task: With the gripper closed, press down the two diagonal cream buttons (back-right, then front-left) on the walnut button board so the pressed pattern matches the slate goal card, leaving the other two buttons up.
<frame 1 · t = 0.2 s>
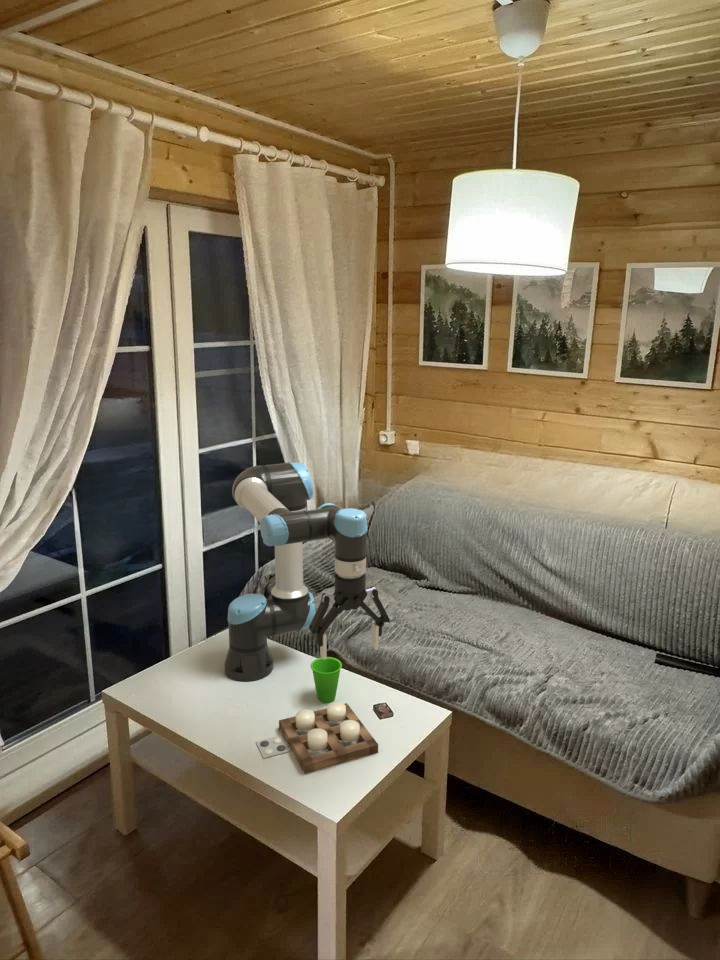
hand: (349, 652, 170), 28 cm above the table, fingers open, 13 cm apart
button back left: (336, 712, 185), point 5 cm above the table, slide at 0.0 cm
board: (327, 740, 180), on the table
button back right: (305, 720, 181), point 5 cm above the table, slide at 0.0 cm
goal card: (272, 747, 177), on the table
button front right: (317, 739, 173), point 5 cm above the table, slide at 0.0 cm
cup: (326, 699, 199), on the table
button front left: (349, 730, 177), point 5 cm above the table, slide at 0.0 cm
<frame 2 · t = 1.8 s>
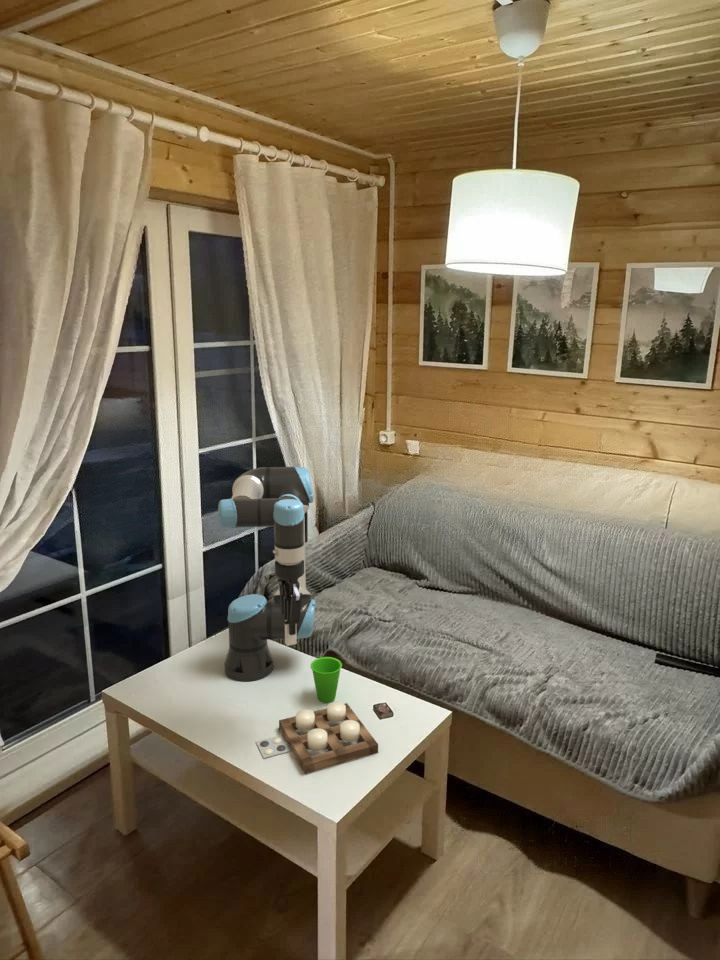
hand: (290, 643, 181), 24 cm above the table, fingers closed
nothing on the table moved.
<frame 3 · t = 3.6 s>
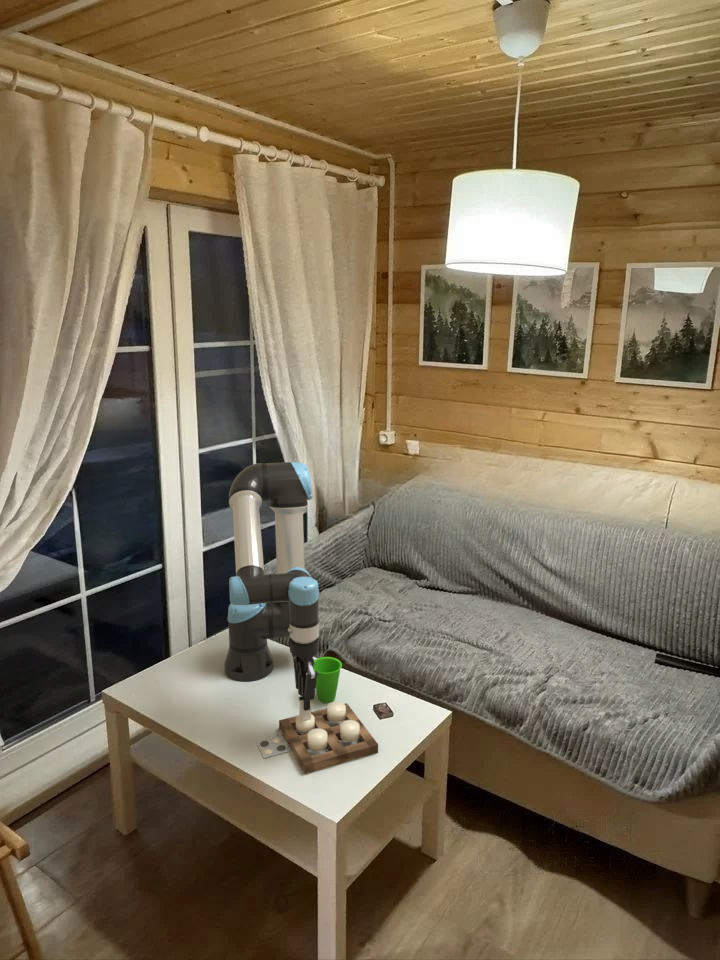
hand: (305, 718, 181), 5 cm above the table, fingers closed
button back right: (305, 723, 181), point 3 cm above the table, slide at 1.1 cm, touching gripper
everything else where it was.
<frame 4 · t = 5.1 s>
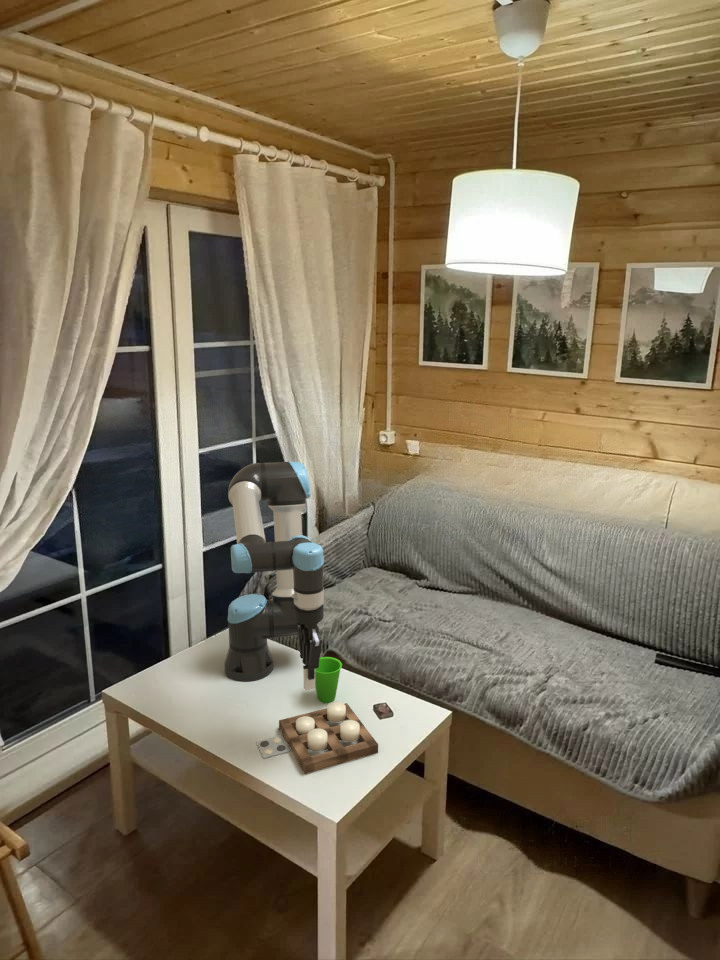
hand: (309, 687, 177), 15 cm above the table, fingers closed
button back right: (305, 726, 181), point 2 cm above the table, slide at 2.1 cm
everything else where it was.
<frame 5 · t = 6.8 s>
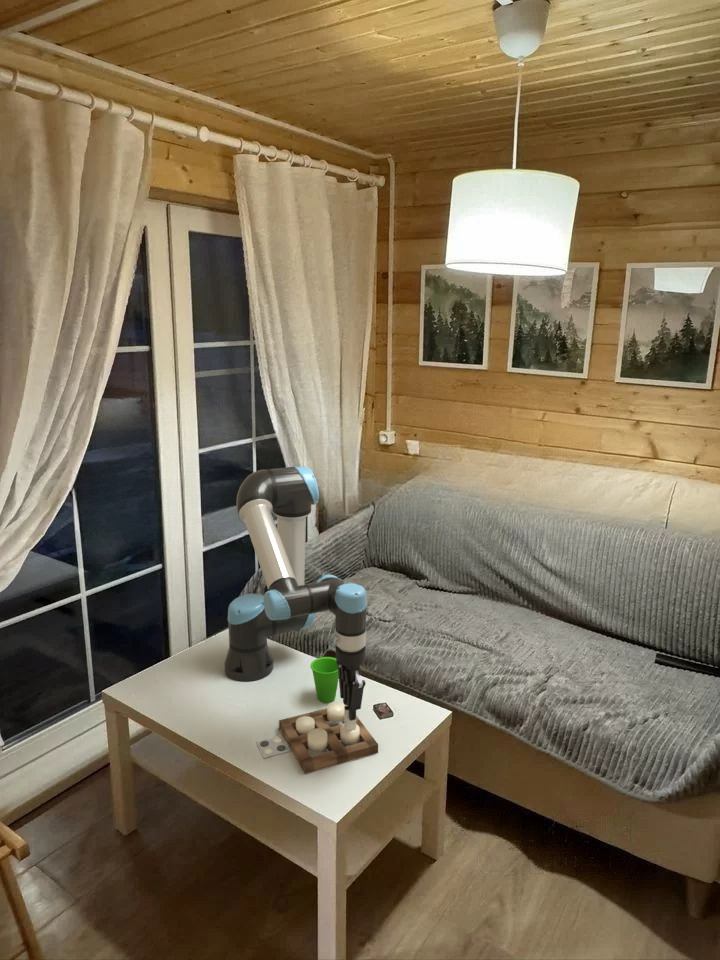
hand: (350, 727, 176), 5 cm above the table, fingers closed
button front left: (349, 733, 177), point 4 cm above the table, slide at 0.8 cm, touching gripper
everything else where it was.
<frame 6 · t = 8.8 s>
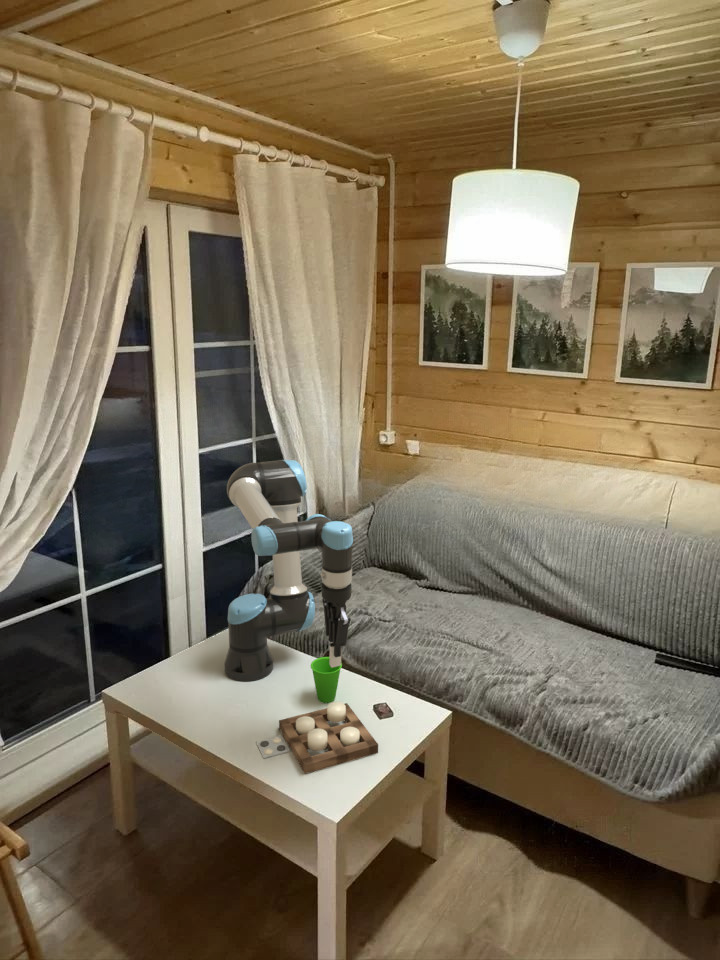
hand: (335, 665, 178), 20 cm above the table, fingers closed
button front left: (349, 737, 177), point 2 cm above the table, slide at 2.0 cm
everything else where it was.
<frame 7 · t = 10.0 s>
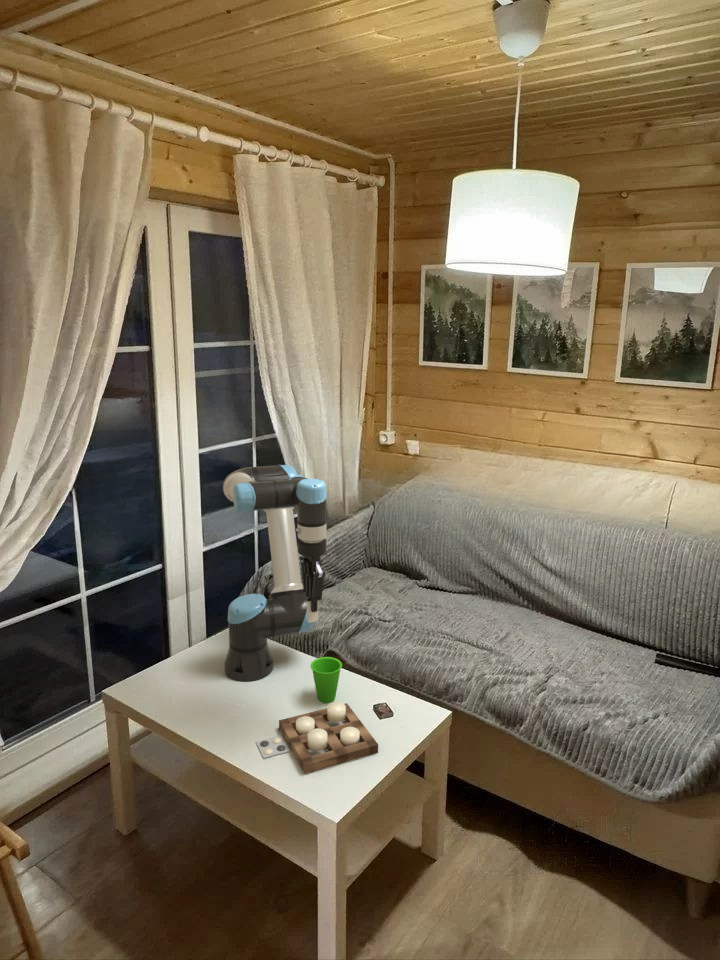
hand: (312, 620, 184), 28 cm above the table, fingers closed
nothing on the table moved.
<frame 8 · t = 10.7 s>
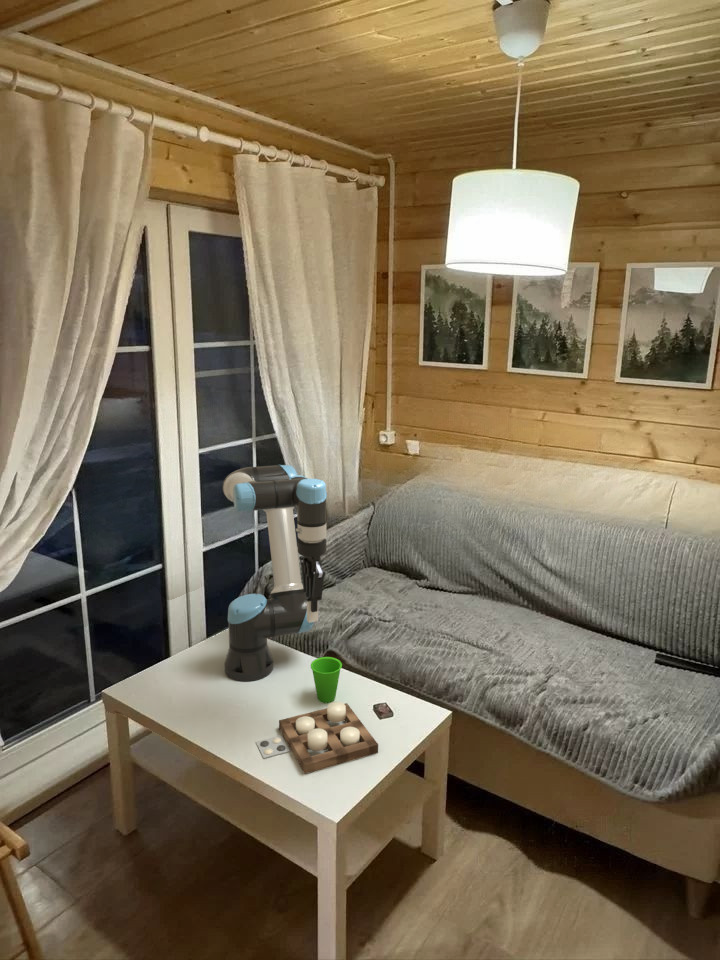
hand: (312, 620, 184), 28 cm above the table, fingers closed
nothing on the table moved.
at the end: button back right slide at 2.1 cm; button front left slide at 2.0 cm; button front right slide at 0.0 cm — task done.
